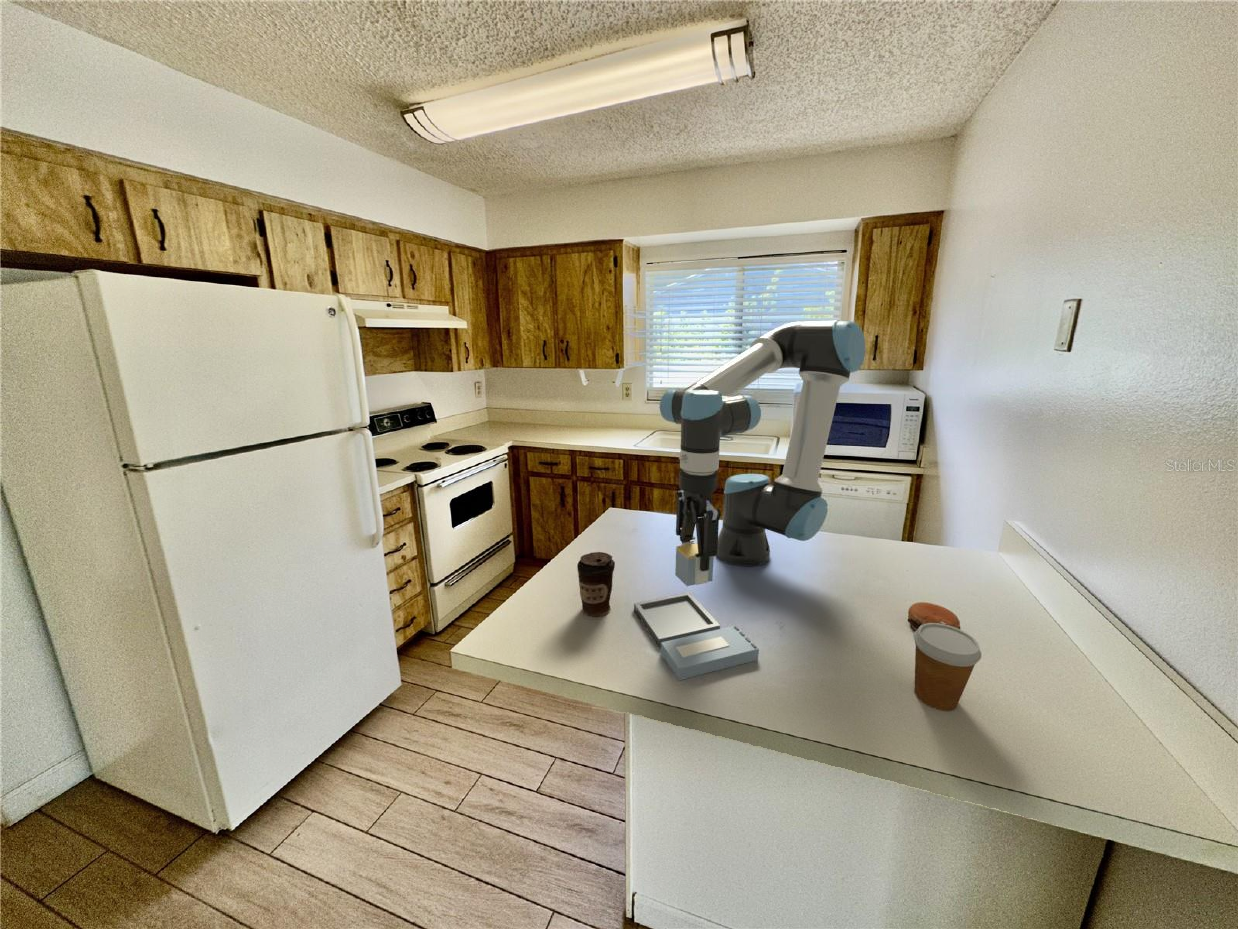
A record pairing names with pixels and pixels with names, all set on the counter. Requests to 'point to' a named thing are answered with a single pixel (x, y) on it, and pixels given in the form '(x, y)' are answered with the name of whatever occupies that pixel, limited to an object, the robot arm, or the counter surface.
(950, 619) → the burger
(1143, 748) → the counter surface
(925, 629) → the disposable coffee cup
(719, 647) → the blue labeled box
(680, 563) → the yellow topped blue block
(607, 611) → the coffee cup
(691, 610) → the tray
